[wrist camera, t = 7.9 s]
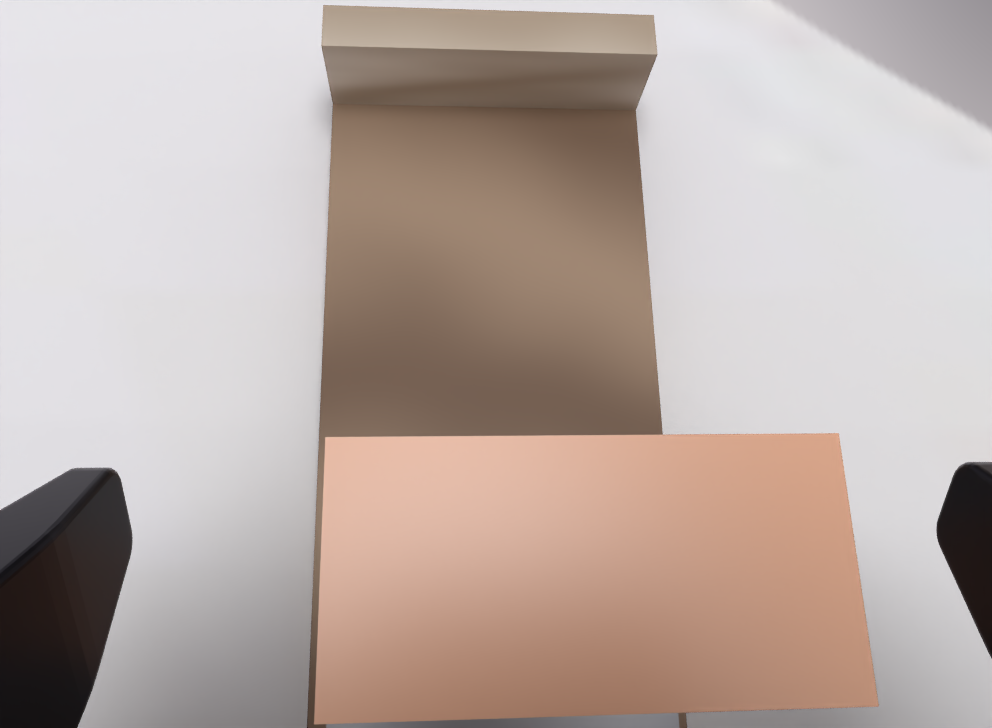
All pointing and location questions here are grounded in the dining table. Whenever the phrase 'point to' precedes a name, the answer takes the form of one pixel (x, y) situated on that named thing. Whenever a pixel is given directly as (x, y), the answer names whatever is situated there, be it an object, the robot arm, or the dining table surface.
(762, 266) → the dining table surface
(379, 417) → the fader track
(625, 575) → the fader
